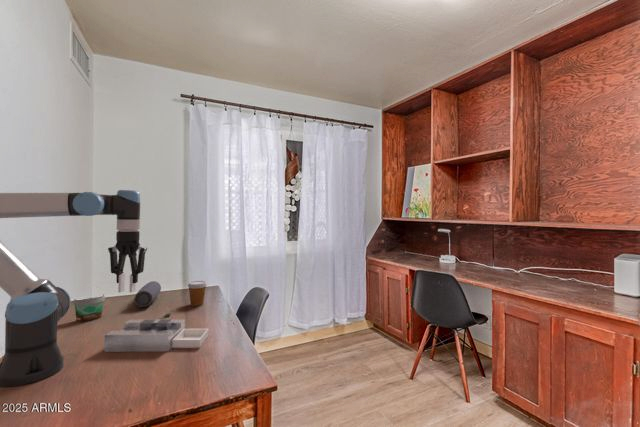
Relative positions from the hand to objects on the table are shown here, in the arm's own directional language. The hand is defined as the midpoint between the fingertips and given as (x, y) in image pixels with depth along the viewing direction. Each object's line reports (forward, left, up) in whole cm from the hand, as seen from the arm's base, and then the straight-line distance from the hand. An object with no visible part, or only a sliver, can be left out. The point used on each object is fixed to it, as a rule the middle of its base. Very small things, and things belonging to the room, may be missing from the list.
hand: (126, 291), depth 117 cm
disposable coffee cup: (+48, -11, -20) cm, 53 cm away
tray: (0, -24, -20) cm, 31 cm away
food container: (+25, +29, -20) cm, 43 cm away
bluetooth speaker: (+51, +16, -20) cm, 57 cm away
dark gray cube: (0, -8, -16) cm, 18 cm away
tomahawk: (+20, -2, -20) cm, 29 cm away
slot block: (0, -8, -20) cm, 21 cm away
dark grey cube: (0, -14, -16) cm, 21 cm away
